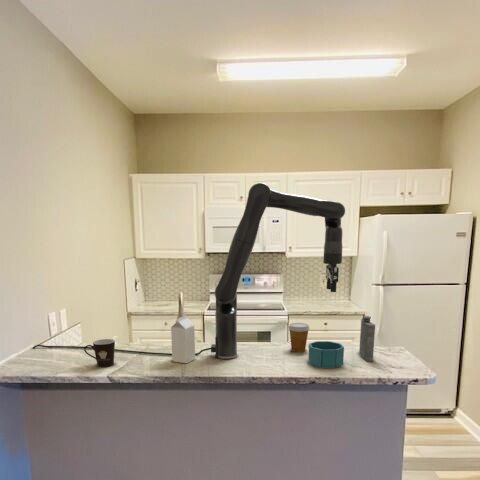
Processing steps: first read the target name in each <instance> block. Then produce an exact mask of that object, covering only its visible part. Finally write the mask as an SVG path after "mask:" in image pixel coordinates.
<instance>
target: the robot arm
mask: <svg viewBox="0 0 480 480" xmlns="http://www.w3.org/2000/svg"><path fill="white" fill-rule="evenodd" d="M247 195H248V196H247V199H246V204H245V208H244V212H243V214H242V217H241V218H240V221H239V223H238V225H237V227H236V229H235V232H234V234H233V237H232V239H231V243H230V246H229V249H228V252H227V257H226V261H225V266H224V270H223V272H222V275H221V277H220V278H219V281H218V283H217V285H216V287H215V289H214V297H215V312H214V313H215V314H214V315H215V336H214V340H215V341H214V343H213V344H211V346H210V347H207V348H204V349H201V350H200V351H198V352H195V356H199V355H201V354H202V353H203V352H205V351H210V353H215V359H220V360H232V359H235V358H237V357H238V323H237V322H238V321H237V320H238V287H239V284H240V279H241V276H242V274H243V272H244V270H245V268H246V266H247V263H248V262H249V260H250V257H251V255H252V252H253V248H254V247H255V243H256V240H257V238H258V237H257V235H258V232H259V227H260V224H261V221H262V218H263V215H264V213H265V211H266V208H273V209H274V208H275V209H281V210H286V211H290V212H294V213H298V214H301V215H306V216H312V217H320V218H324V226H325V232H324V244H323V260H322V261H323V264H325V280H326V290H330V293H336V292H337V284H338V283H339V274H340V273H339V272H340V271H339V270H340V267H338V266H337V265H340V264H342V262H343V227H342V218H343V217H344V216H345V214H346V207H345V205H344V204H343V203H341V202H339V201H334V200H327V199H326V200H325V199H320V198H317V197H312V196H308V195H301V194H293V193H292V194H291V193H284V192H280V191H276V190H273V189H271V188H270V187H269V185H268V184H266V183H264V182H257V183H254V184H253V185H251V187H250V188H249V190H248V194H247ZM38 347H40V348H41V347H42V348H49V349H51V348H61V349H64V348H65V349H84V348H85V346H80V345H79V346H76V345H75V346H74V345H73V346H72V345H45V344H36V345H34V346H33V347H32V349H35V348H38ZM88 349H89V350H94V349H93V348H92V347H90V346H88V347H86V350H88ZM114 352H122V353H134V354H143V355H144V354H145V355H159V356H160V355H161V356H172V352H171V353H168V352H154V351H153V352H150V351H137V350H128V349H118V348H115V349H114Z"/></svg>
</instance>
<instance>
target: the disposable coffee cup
mask: <svg viewBox="0 0 480 480" xmlns="http://www.w3.org/2000/svg"><path fill="white" fill-rule="evenodd" d="M288 330H289V339H290V347H291V351H292V352H296V353H303V352H305V351H306V347H307V341H308V334H309V331H310V326H309V324H308V323H303V322H293V323H290V324H289V326H288Z"/></svg>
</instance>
